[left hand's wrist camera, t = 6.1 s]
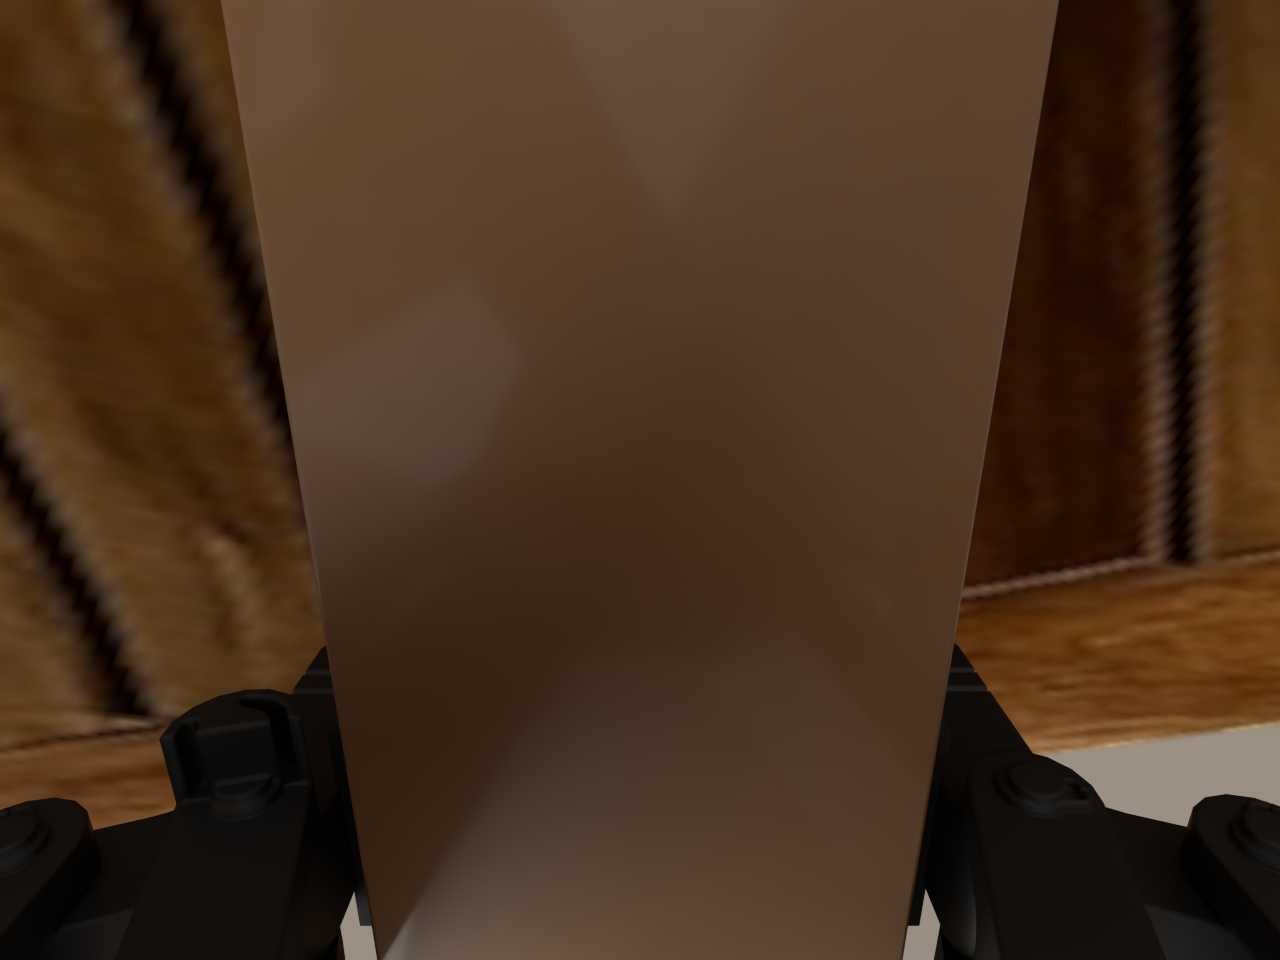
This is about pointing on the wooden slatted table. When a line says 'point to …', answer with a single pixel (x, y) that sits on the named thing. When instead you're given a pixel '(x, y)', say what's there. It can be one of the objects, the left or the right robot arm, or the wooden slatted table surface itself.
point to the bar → (639, 443)
